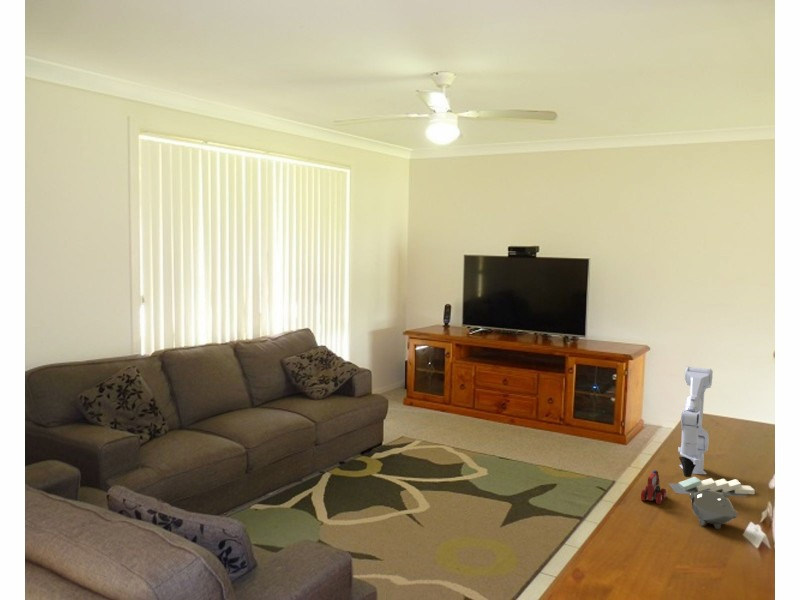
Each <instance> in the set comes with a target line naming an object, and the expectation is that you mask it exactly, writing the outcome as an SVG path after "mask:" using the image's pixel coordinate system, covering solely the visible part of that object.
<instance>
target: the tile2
mask: <svg viewBox="0 0 800 600" xmlns="http://www.w3.org/2000/svg"><path fill="white" fill-rule="evenodd" d="M715 481H716V480H714V479H713V478H712V477H710V478H707V479H703V480H701V483H702V485H699V486H697V487H695V488H696V489H697V490H698V491H701V490H706V489H709V488H712V487H716V483H715Z"/></svg>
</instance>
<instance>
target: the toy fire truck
mask: <svg viewBox="0 0 800 600" xmlns="http://www.w3.org/2000/svg"><path fill="white" fill-rule="evenodd" d="M660 483H661V482H660V475H659V471H658V470H656V469H655V470H653V471H652V472H651V473H650V475H649V476H648V477H647V485H645V488H643V489H642V490H641V492H640V499H641V501H643V502H646V501H647V500H648V501H654V500H655V503H656V504H657V505H661V504H662V502H663V500H665V499H666V497H667V489H665V488H661V484H660Z"/></svg>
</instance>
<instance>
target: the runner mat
mask: <svg viewBox="0 0 800 600" xmlns="http://www.w3.org/2000/svg"><path fill="white" fill-rule="evenodd" d="M667 484H668V485H669V487H670V488H671V489H672V490H673V492H674V493H675V494H677V495H678V494H680V495H689V494H690V493H697V492H698V490H697V489H696V488H695V487H694V488H691V489H689V490H686V491H685V490H684V489H682V488H681V487H680V486H679V483H672V482H671V483H670V482H669V483H667ZM706 490H709V489H706ZM716 492H719V493H722V491H721V490H717V491H716ZM728 493H730V496H729V497H742V498H743V497H744V498H748V497H749V496H748V494H738V493H734V492H733V491H732V490H731V491H728Z"/></svg>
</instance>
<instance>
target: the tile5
mask: <svg viewBox="0 0 800 600" xmlns="http://www.w3.org/2000/svg"><path fill="white" fill-rule="evenodd" d="M741 486H742V487H741V488H738V489H734V490H732V491H733V492H734V493H738V494H746V495H755V494H756V493H755V491H756V490H755V489H754V488H753V487H752V486H751V485H743V484H741Z"/></svg>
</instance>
